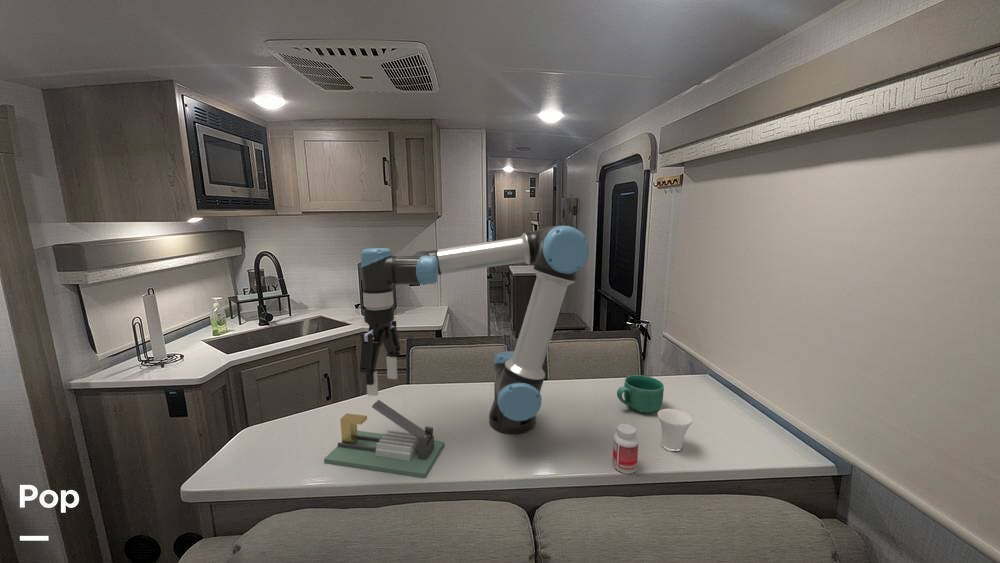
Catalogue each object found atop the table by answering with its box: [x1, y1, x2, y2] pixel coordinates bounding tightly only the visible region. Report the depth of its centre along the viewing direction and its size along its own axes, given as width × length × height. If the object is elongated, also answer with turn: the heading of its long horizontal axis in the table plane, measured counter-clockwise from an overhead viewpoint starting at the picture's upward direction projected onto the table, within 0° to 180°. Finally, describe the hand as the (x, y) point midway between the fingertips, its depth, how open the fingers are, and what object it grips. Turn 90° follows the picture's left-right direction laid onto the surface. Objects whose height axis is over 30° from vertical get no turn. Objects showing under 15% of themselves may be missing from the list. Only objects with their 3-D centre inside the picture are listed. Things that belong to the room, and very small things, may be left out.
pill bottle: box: [611, 423, 639, 475], centre depth 96 cm, size 6×6×11 cm
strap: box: [371, 399, 431, 443], centre depth 101 cm, size 18×3×2 cm
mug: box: [616, 374, 665, 413], centre depth 127 cm, size 17×13×10 cm
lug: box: [340, 413, 368, 444], centre depth 105 cm, size 6×3×8 cm, turn 78°
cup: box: [657, 408, 693, 450], centre depth 105 cm, size 9×9×10 cm
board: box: [323, 426, 445, 479], centre depth 102 cm, size 29×14×7 cm, turn 78°
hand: (383, 386), depth 101 cm, fingers open, 10 cm apart
